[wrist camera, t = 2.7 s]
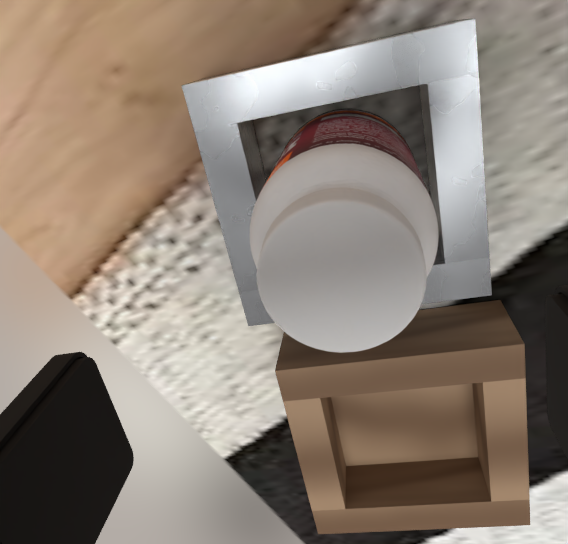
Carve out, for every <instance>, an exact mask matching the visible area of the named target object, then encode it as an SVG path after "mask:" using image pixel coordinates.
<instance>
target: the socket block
mask: <svg viewBox="0 0 568 544" xmlns="http://www.w3.org/2000/svg"><path fill="white" fill-rule="evenodd" d="M417 85H419V88H420V98H421V108H422V117H423V127H424V137H425V146H426V156H427V166H428V175H429V185H430V195H431V199H432V202H433V205H434V209H435V213H436V217H437V222H438V248H437V253H436V257H435V261H434V264H433V266H432V269H431V271H430V273H429V275H428V277H427V281H426V289H425V294H424V298H423V300H422V303H421V304H426V303H434V302H442V301H450V300H458V299H466V298H474V297H481V296H489V295H492V292H491V275H490V259H489V242H488V225H487V208H486V191H485V174H484V157H483V140H482V123H481V106H480V89H479V73H478V56H477V39H476V22H475V19H465V20H457V21H453V22H448V23H444V24H440V25H435V26H431V27H427V28H422V29H418V30H414V31H409V32H405V33H400V34H396V35H392V36H387V37H383V38H379V39H374V40H370V41H366V42H361V43H357V44H353V45H348V46H344V47H339V48H335V49H331V50H326V51H322V52H318V53H313V54H309V55H305V56H300V57H296V58H291V59H287V60H283V61H278V62H274V63H270V64H265V65H261V66H257V67H252V68H248V69H244V70H239V71H235V72H230V73H226V74H222V75H217V76H213V77H209V78H204V79H201V80H197V81H194V82H191V83H188V84H185V85H182V89H183V92H184V96H185V100H186V103H187V107H188V110H189V114H190V118H191V121H192V125H193V128H194V132H195V136H196V139H197V143H198V146H199V150H200V154H201V157H202V161H203V164H204V168H205V171H206V175H207V179H208V182H209V186H210V189H211V193H212V197H213V200H214V204H215V207H216V211H217V215H218V218H219V222H220V225H221V229H222V233H223V236H224V240H225V243H226V247H227V251H228V254H229V258H230V261H231V265H232V269H233V272H234V276H235V279H236V283H237V287H238V290H239V294H240V297H241V301H242V305H243V308H244V312H245V315H246V319H247V323H248V326H253V325H261V324H269V323H275V322H274V321H273V320H272V318H271V317H270V315H269V314H268V313H267V311H266V309H265V307H264V305H263V302H262V300H261V297H260V294H259V290H258V285H257V268H256V265H255V262H254V260H253V256H252V252H251V246H250V222H251V216H252V212H253V209H254V206H255V203H256V201H257V199H258V196H259V194H260V192H261V190H262V189H263V187H264V185H265V183H266V178H265V173H264V169H263V165H262V160H261V156H260V152H259V147H258V143H257V139H256V135H255V130H254V126H253V122H252V120H254V119H258V118H263V117H268V116H273V115H278V114H282V113H287V112H292V111H297V110H302V109H306V108H311V107H316V106H321V105H325V104H330V103H335V102H340V101H345V100H349V99H354V98H359V97H364V96H369V95H373V94H378V93H383V92H388V91H393V90H397V89H402V88H407V87H412V86H417Z"/></svg>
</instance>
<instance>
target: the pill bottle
mask: <svg viewBox="0 0 568 544" xmlns="http://www.w3.org/2000/svg"><path fill="white" fill-rule="evenodd" d="M250 246H251V252H252V256H253V260H254V262H255V265H256V268H257V285H258V290H259V294H260V297H261V300H262V302H263V305H264V307H265V309H266V311H267V313H268V314H269V315H270V317H271V318H272V320H273V321H274V322H275V323H276V324H277V325H278V326H279V327H280V328H281V329H282V330H283V331H284V332H285V333H287V334H288V335H289V336H291V337H292V338H294V339H295V340H297V341H299V342H301V343H303V344H305V345H307V346H310V347H313V348H315V349H320V350H324V351H329V352H340V353H343V352H357V351H362V350H366V349H370V348H373V347H376V346H378V345H380V344H382V343H385V342H387V341H389V340H390V339H392V338H393V337H395V336H396V335H397V334H399V333H400V332H401V331H402V330H403V329H404V328H406V326H407V325H408V324H409V323H410V322H411V321H412V319H413V318H414V317H415V315H416V313H417V311H418V310H419V308H420V306H421V303H422V300H423V298H424V294H425V289H426V281H427V277H428V275H429V273H430V271H431V269H432V266H433V264H434V261H435V257H436V253H437V248H438V222H437V217H436V213H435V209H434V205H433V202H432V199H431V197H430V194H429V192H428V190H427V188H426V186H425V183H424V181H423V179H422V176H421V174H420V172H419V169H418V167H417V165H416V162H415V160H414V158H413V155H412V153H411V151H410V148H409V146H408V145H407V143H406V141H405V140H404V138H403V137H402V136H401V135H400V133H399V132H398V131H397V130H396V129H395V128H394V127H393V126H392V125H390V124H389V123H388V122H386V121H385V120H384V119H382V118H380V117H378V116H376V115H374V114H371V113H368V112H364V111H359V110H350V109H347V110H337V111H332V112H328V113H325V114H322V115H320V116H318V117H316V118H314V119H312V120H310V121H309V122H307V123H306V124H305V125H304V126H302V127H301V128H300V129H299V130H298V131H297V132H296V133H295V134H294V136H293V137H292V138H291V140H290V141H289V142H288V144H287V145H286V147H285V149H284V151H283V153H282V155H281V157H280V158H279V160H278V161H277V163H276V165H275V167H274V169H273V171H272V173H271V175H270V176H269V178H268V180H267V182H266V183H265V185H264V187H263V189H262V190H261V192H260V194H259V196H258V199H257V201H256V203H255V206H254V209H253V212H252V216H251V222H250Z"/></svg>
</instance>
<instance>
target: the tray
mask: <svg viewBox="0 0 568 544" xmlns="http://www.w3.org/2000/svg"><path fill="white" fill-rule="evenodd" d="M275 372H276V376H277V380H278V384H279V387H280V391H281V395H282V399H283V402H284V406H285V410H286V414H287V417H288V421H289V425H290V429H291V433H292V436H293V440H294V444H295V448H296V451H297V455H298V459H299V463H300V467H301V470H302V474H303V478H304V482H305V485H306V489H307V493H308V497H309V501H310V504H311V508H312V512H313V516H314V519H315V523H316V527H317V531H318V534H333V533H356V532H379V531H402V530H425V529H449V528H472V527H495V526H518V525H530V504H529V473H528V442H527V410H526V379H525V348H524V342H523V341H522V339H521V337H520V335H519V333H518V331H517V330H516V328H515V326H514V324H513V322H512V321H511V319H510V317H509V315H508V313H507V311H506V310H505V308H504V306H503V304H502V302H501V300H495V301H487V302H479V303H471V304H463V305H455V306H447V307H439V308H431V309H423V310H418V311H417V313H416V315H415V317H414V318H413V319H412V321H411V322H410V323H409V324H408V325H407V326H406V328H404V329H403V330H402V331H401V332H400V333H399V334H397V335H396V336H395V337H393V338H392V339H390V340H389V341H387V342H385V343H382V344H380V345H378V346H376V347H373V348H370V349H366V350H362V351H357V352H343V353H340V352H329V351H324V350H320V349H315V348H313V347H310V346H307V345H305V344H303V343H301V342H299V341H297V340H295V339H294V338H292V337H291V336H289V335H288V334H287V333H285V332H284V334H283V339H282V343H281V347H280V352H279V356H278V361H277V365H276V370H275Z"/></svg>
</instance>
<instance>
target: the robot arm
mask: <svg viewBox="0 0 568 544" xmlns="http://www.w3.org/2000/svg"><path fill="white" fill-rule="evenodd" d="M545 318H546V376H547V414H548V419H549V423H550V426H551V428H552V430H553V432H554V434H555V436H556V438H557V440H558V442H559V443H560V445H561V447H562V449H563V451H564V453H565V455H566V456H567V458H568V285H565V286H558V287H557V288H556V291H555V295H548V296H547V297H546V300H545ZM132 466H133V451H132V449H131V446H130V444H129V441H128V439H127V437H126V434H125V432H124V429H123V427H122V425H121V422H120V420H119V417H118V415H117V413H116V410H115V408H114V406H113V403H112V401H111V399H110V396H109V394H108V391H107V389H106V386H105V384H104V382H103V379H102V377H101V375H100V372H99V370H98V368H97V365H96V363H95V361H94V360H93V359H92V358H90V357H87V356H86V355H85V354H84V353H82V352H76V353H69V354H62V355H55V356H54V357H53V358H51V360H50V361H49V362H48V363H47V364H46V365H45V366H44V367H43V368H42V370H40V372H39V373H38V374H37V375H36V376H35V377H34V378H33V379H32V381H30V383H29V384H28V385H27V386H26V387H25V388H24V389H23V390H22V391H21V393H20V394H19V395H18V396H17V397H16V398H15V399H14V400H13V401H12V402H11V403H10V405H9V406H8V407H7V408H6V409H5V410H4V411H3V412H2V413H1V414H0V544H95V543H96V540H97V538H98V536H99V534H100V532H101V530H102V528H103V526H104V524H105V522H106V520H107V518H108V516H109V514H110V512H111V510H112V508H113V506H114V504H115V502H116V500H117V497H118V495H119V493H120V491H121V489H122V487H123V485H124V483H125V481H126V479H127V477H128V475H129V473H130V471H131V469H132Z"/></svg>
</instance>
